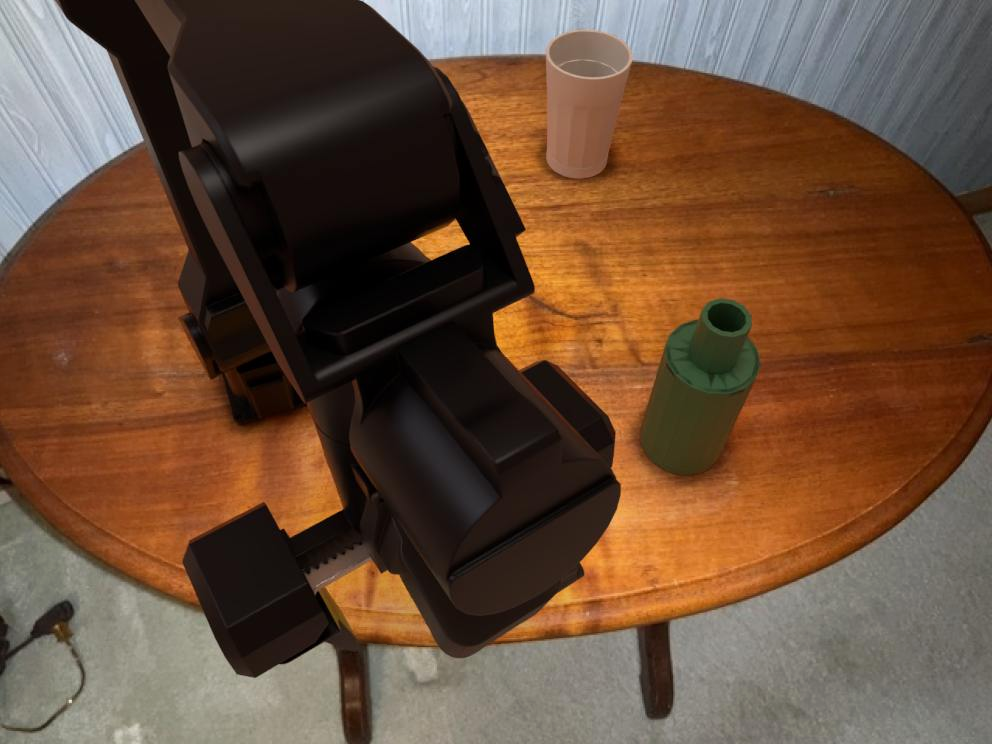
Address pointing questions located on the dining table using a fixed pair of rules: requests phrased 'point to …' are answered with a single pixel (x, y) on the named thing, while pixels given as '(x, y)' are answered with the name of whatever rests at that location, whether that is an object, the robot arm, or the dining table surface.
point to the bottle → (700, 389)
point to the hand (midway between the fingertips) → (432, 593)
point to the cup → (583, 99)
